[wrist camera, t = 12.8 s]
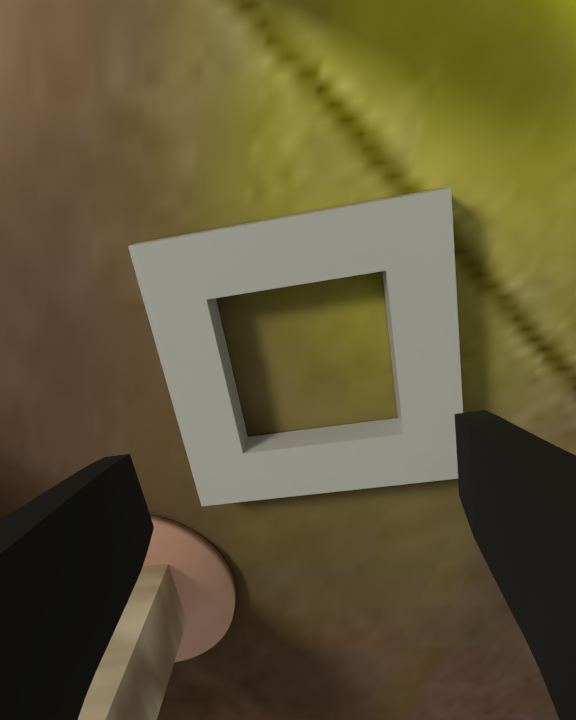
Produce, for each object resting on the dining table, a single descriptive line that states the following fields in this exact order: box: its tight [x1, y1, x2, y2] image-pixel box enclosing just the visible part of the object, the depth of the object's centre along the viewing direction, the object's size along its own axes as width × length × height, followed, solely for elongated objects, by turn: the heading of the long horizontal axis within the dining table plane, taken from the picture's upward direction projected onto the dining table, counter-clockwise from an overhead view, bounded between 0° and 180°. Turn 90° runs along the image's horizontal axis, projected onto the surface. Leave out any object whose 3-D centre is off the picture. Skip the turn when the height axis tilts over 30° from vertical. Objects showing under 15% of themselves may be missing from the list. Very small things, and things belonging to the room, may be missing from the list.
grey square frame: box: [128, 188, 463, 506], centre depth 20 cm, size 12×12×2 cm
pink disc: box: [143, 515, 236, 662], centre depth 25 cm, size 10×10×1 cm
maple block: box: [78, 564, 187, 720], centre depth 21 cm, size 4×4×8 cm
